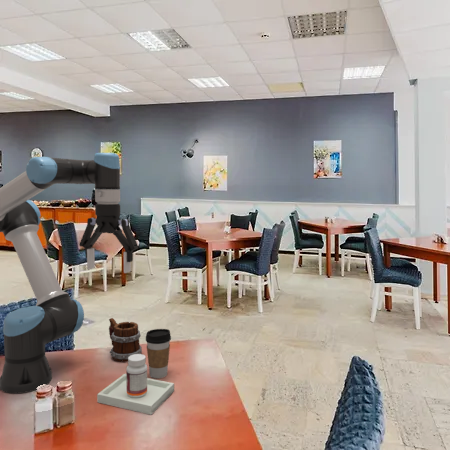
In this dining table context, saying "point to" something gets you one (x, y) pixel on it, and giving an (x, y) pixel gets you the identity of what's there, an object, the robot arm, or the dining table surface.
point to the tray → (145, 404)
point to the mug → (124, 340)
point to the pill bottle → (136, 376)
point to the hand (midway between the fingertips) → (108, 270)
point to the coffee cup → (158, 352)
